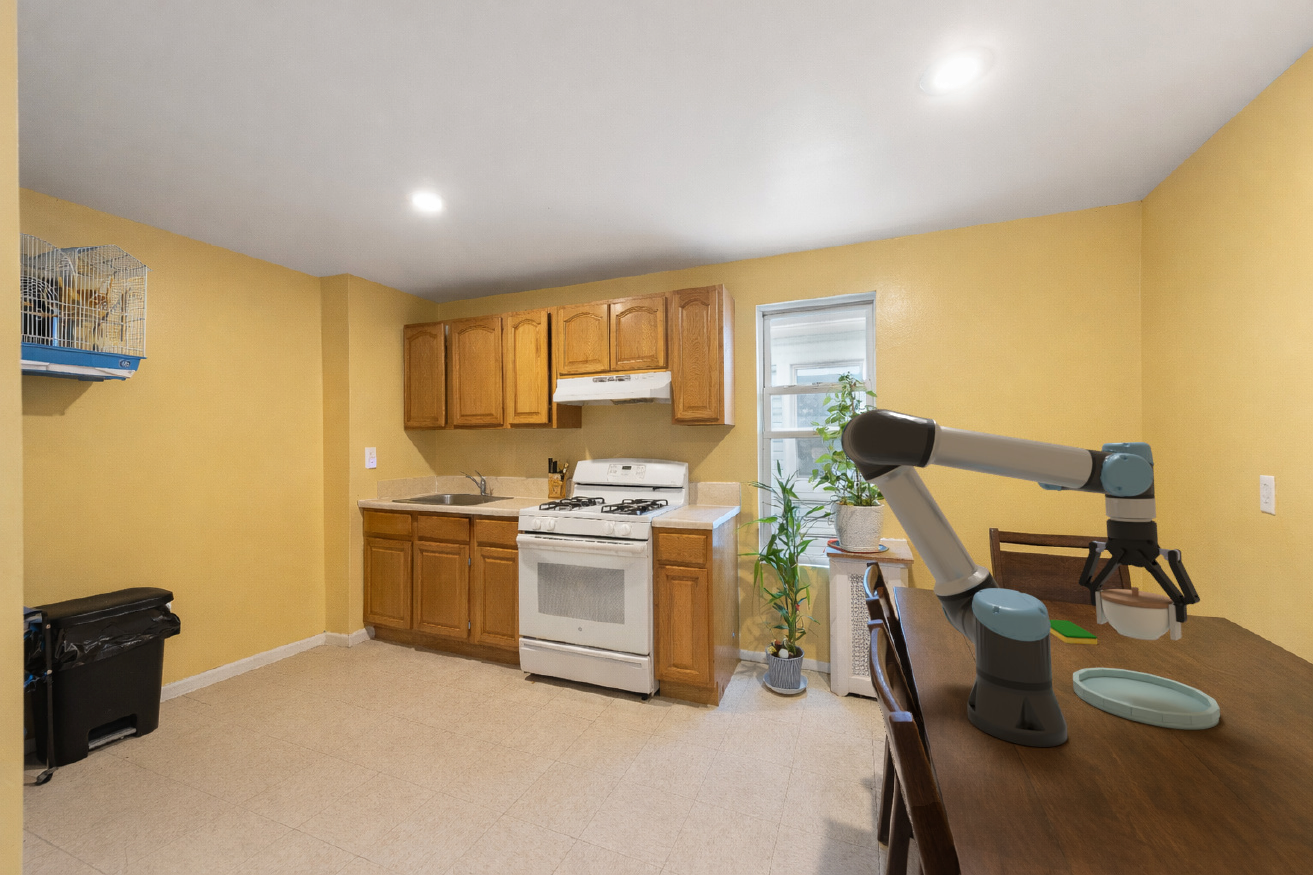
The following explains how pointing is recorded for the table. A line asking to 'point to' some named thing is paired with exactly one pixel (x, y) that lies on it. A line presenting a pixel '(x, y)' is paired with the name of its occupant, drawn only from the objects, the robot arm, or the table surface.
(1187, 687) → the round tray
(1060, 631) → the dish sponge
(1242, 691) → the table surface
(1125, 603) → the lidded jar
